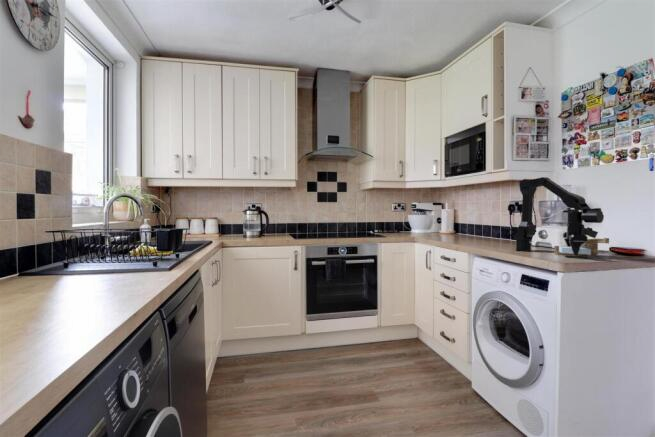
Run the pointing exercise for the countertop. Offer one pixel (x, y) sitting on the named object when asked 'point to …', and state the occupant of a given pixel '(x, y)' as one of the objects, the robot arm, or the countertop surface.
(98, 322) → the countertop surface
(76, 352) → the countertop surface
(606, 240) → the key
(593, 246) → the chisel box
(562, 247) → the lid
